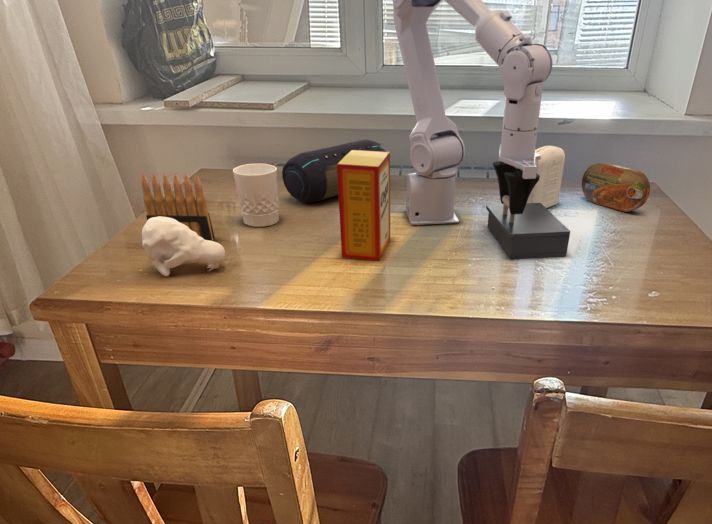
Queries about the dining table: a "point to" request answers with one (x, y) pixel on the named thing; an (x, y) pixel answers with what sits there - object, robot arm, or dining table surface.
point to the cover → (527, 220)
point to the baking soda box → (364, 204)
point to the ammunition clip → (179, 204)
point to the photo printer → (548, 176)
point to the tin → (615, 186)
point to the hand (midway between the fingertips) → (511, 208)
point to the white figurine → (177, 245)
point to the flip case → (528, 243)
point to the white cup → (257, 193)
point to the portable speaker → (319, 170)
